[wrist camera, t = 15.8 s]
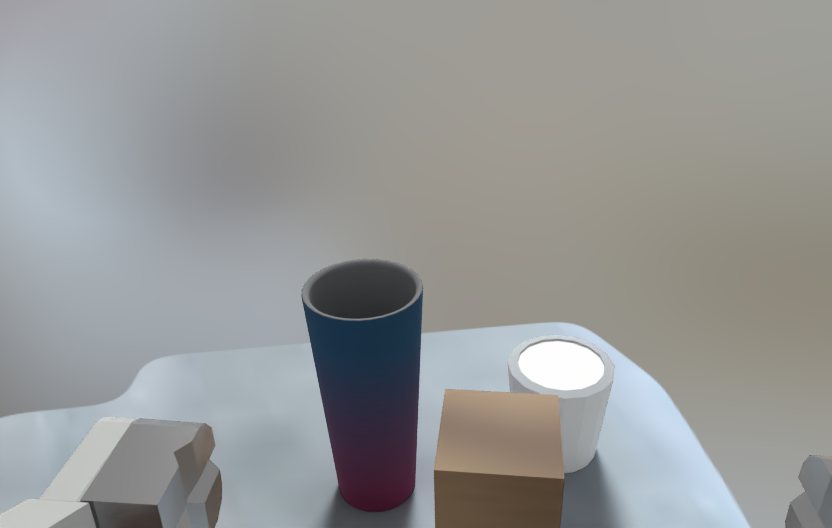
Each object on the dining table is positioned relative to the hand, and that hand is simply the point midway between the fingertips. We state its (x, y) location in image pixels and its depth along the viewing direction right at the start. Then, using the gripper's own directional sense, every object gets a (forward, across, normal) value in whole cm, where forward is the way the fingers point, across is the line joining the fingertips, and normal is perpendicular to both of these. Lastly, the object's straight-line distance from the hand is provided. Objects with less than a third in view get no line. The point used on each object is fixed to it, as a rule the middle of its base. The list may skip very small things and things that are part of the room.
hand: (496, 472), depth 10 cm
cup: (+28, +6, +28) cm, 40 cm away
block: (+12, -1, +27) cm, 29 cm away
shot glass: (+32, -6, +27) cm, 42 cm away
